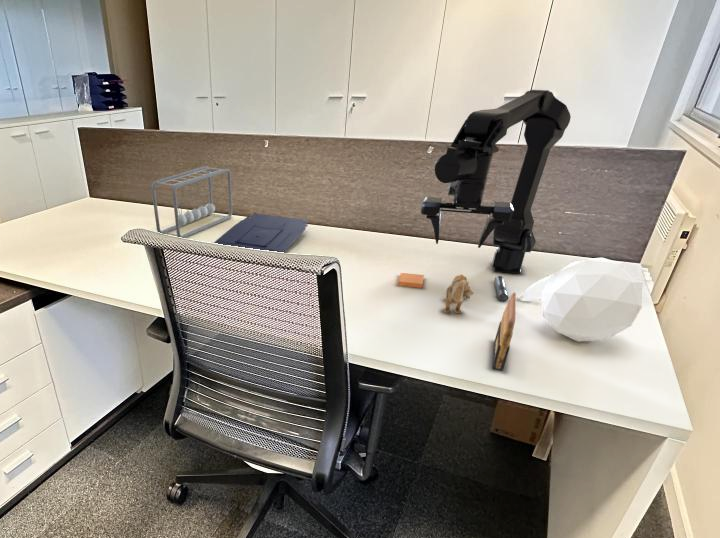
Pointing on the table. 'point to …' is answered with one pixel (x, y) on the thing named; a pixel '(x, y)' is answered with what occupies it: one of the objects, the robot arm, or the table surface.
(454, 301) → the lion figurine
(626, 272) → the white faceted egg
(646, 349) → the table surface
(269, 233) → the navy blue flat slab
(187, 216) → the newton's cradle
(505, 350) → the ammunition clip
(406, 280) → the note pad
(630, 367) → the table surface
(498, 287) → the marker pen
